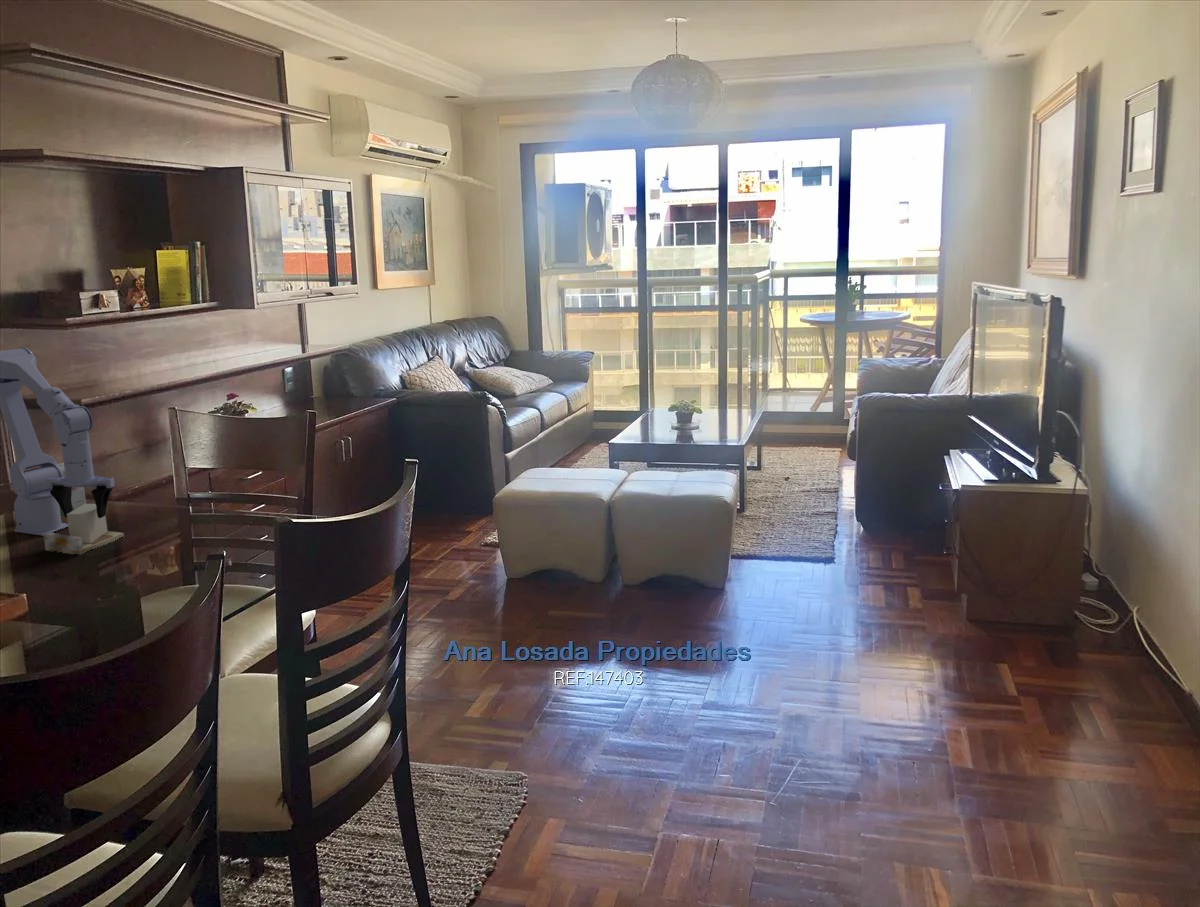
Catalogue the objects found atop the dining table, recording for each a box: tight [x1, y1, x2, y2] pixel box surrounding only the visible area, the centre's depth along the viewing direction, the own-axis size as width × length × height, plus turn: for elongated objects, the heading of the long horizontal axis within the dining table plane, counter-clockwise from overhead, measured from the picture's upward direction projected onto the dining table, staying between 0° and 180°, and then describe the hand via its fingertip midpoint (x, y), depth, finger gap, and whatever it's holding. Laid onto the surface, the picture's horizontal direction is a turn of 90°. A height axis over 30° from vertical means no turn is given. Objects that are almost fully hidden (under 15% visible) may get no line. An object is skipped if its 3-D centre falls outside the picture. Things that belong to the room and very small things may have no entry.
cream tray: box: [43, 530, 125, 556], centre depth 219 cm, size 10×13×4 cm
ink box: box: [57, 461, 87, 516], centre depth 243 cm, size 9×5×12 cm, turn 168°
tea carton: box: [66, 503, 108, 543], centre depth 220 cm, size 5×8×7 cm, turn 1°
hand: (85, 516), depth 219 cm, fingers open, 7 cm apart
